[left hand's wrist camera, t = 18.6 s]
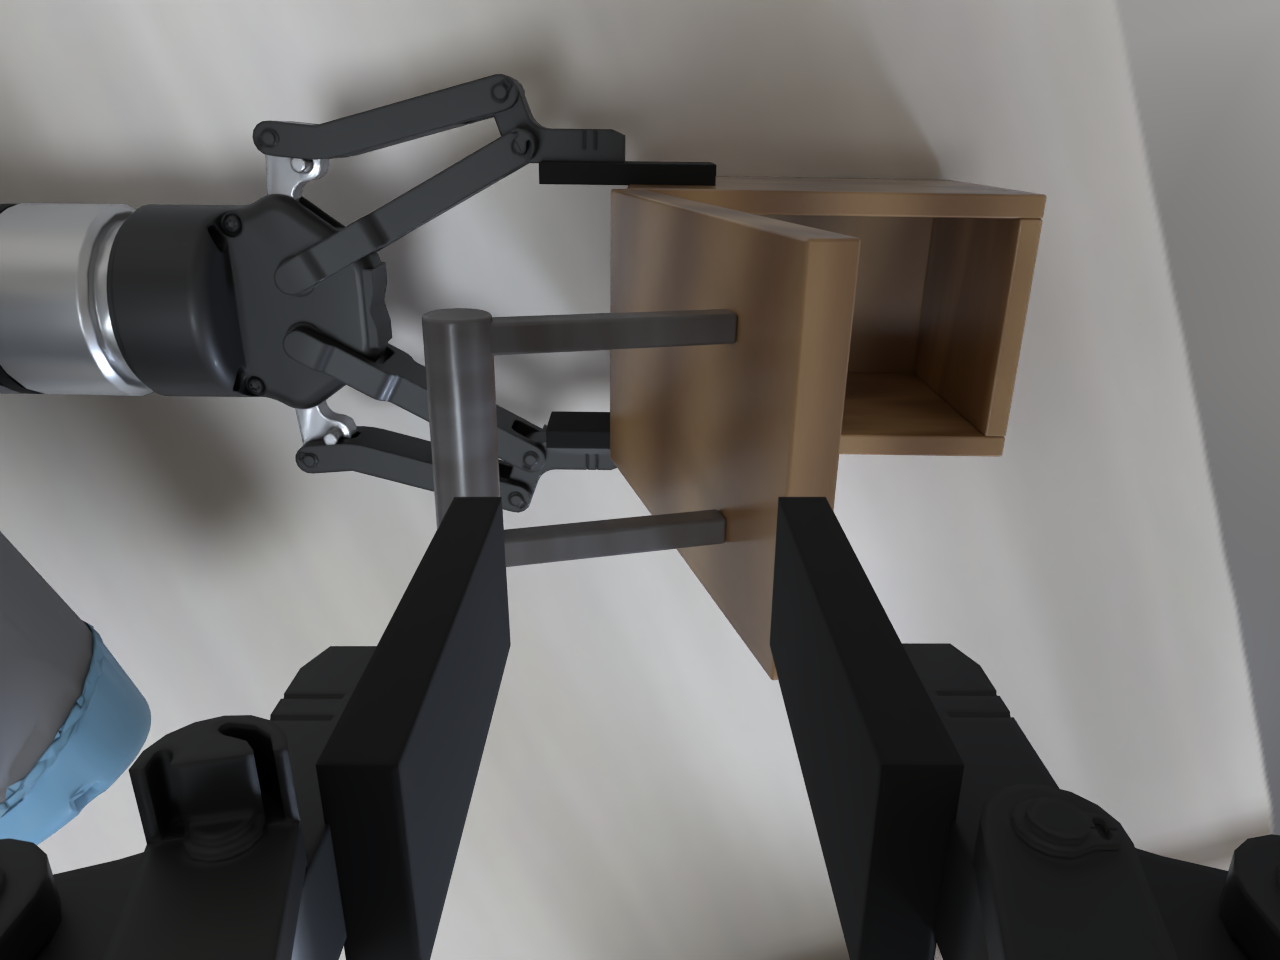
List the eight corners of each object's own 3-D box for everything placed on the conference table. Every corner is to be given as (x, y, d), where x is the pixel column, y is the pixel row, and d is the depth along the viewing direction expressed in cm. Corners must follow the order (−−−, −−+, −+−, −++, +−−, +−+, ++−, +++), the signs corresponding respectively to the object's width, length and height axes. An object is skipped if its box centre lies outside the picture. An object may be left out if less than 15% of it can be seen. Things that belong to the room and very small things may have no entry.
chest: (949, 179, 41) (1047, 194, 31) (922, 385, 44) (1002, 457, 34) (630, 174, 41) (626, 187, 31) (628, 380, 44) (624, 451, 34)
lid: (862, 237, 17) (424, 244, 15) (818, 674, 20) (457, 729, 18) (642, 189, 30) (399, 189, 28) (638, 455, 34) (420, 473, 32)
